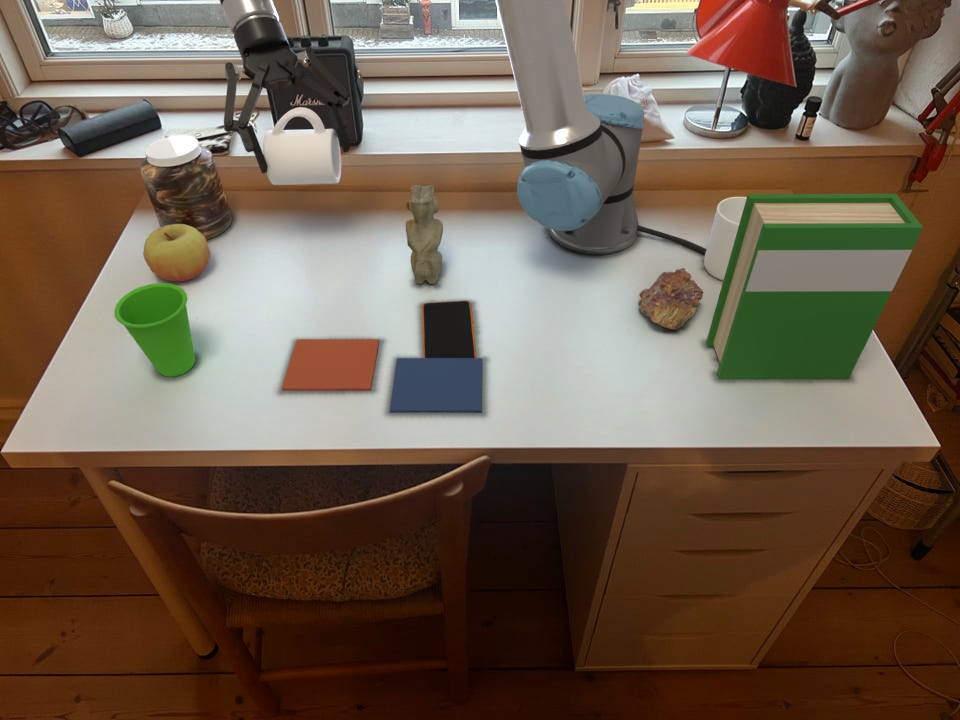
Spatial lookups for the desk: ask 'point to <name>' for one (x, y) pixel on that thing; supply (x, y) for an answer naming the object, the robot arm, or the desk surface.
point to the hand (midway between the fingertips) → (307, 159)
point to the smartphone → (448, 330)
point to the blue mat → (437, 385)
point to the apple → (176, 252)
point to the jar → (185, 185)
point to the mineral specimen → (671, 299)
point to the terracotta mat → (331, 364)
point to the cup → (159, 326)
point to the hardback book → (808, 283)
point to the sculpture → (424, 234)
